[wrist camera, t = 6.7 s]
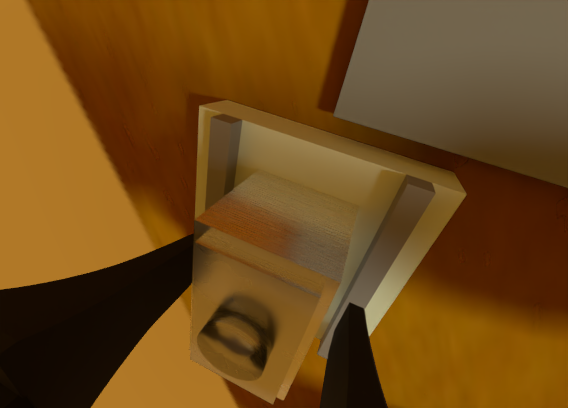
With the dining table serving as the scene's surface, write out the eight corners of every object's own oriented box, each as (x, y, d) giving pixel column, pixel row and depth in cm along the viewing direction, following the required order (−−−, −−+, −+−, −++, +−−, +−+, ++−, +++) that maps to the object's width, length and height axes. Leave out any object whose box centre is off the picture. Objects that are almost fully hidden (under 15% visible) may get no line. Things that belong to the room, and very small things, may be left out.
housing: (311, 313, 16) (272, 434, 11) (239, 279, 17) (170, 376, 12) (358, 205, 12) (332, 318, 6) (258, 169, 13) (165, 242, 7)
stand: (454, 172, 12) (473, 205, 9) (359, 323, 18) (353, 372, 15) (227, 99, 14) (185, 108, 11) (212, 256, 21) (183, 287, 18)
